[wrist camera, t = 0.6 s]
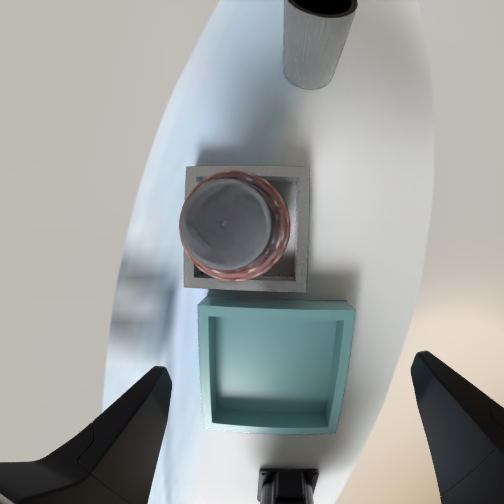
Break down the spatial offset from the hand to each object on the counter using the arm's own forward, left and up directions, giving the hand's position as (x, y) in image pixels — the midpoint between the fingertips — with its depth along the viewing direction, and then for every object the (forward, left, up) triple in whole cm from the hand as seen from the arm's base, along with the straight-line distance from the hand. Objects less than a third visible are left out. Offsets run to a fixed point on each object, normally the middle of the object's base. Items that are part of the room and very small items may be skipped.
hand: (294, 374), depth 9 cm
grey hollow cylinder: (+19, -2, -15) cm, 24 cm away
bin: (-7, +1, -15) cm, 16 cm away
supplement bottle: (+5, +3, -15) cm, 16 cm away
